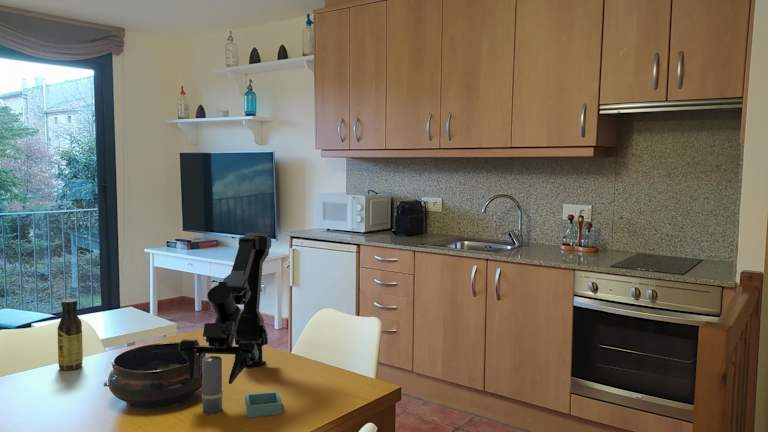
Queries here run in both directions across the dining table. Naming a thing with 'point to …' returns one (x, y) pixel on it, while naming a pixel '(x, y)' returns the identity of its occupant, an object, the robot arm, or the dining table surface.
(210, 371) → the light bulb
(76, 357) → the sauce bottle
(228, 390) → the dining table surface
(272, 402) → the frame
